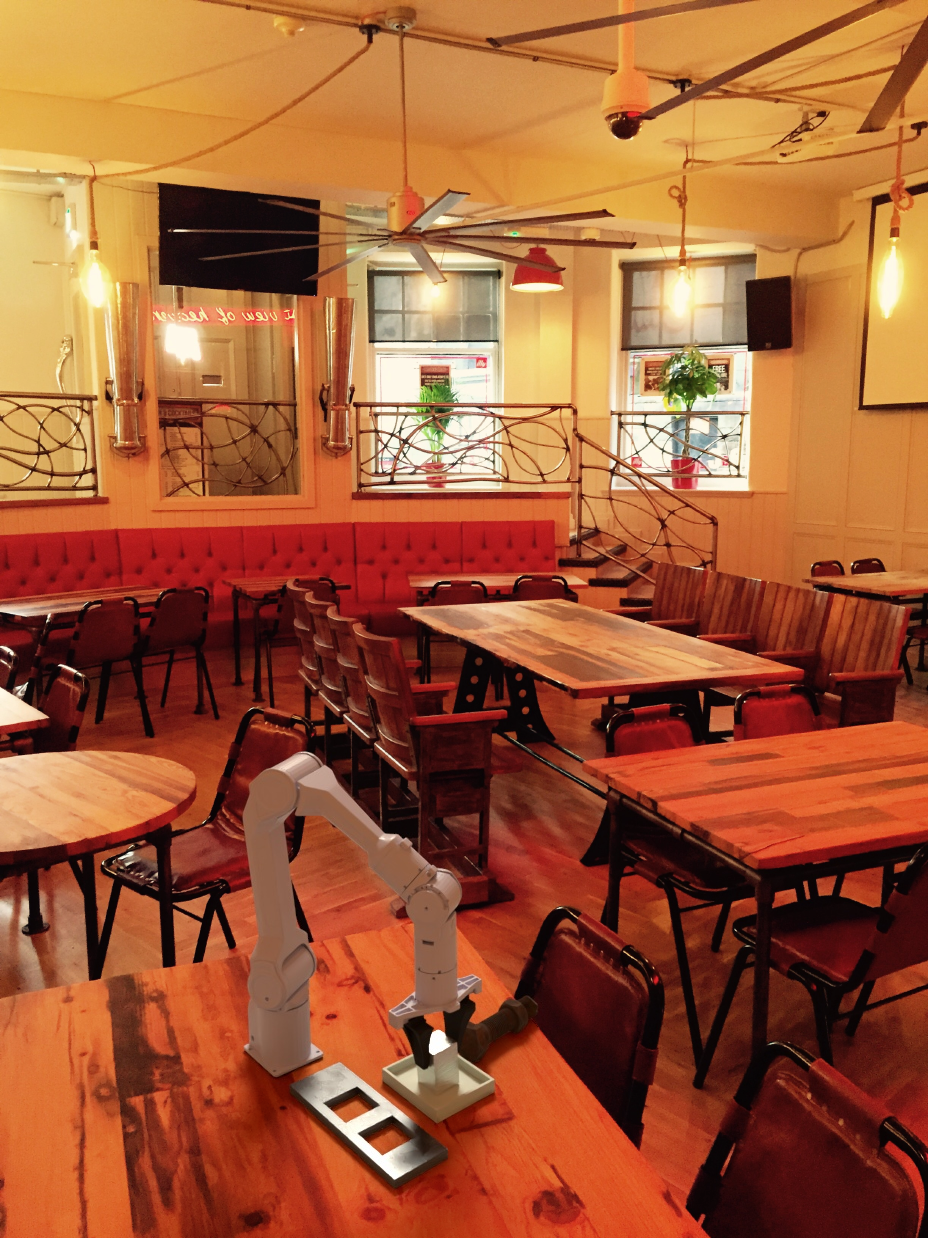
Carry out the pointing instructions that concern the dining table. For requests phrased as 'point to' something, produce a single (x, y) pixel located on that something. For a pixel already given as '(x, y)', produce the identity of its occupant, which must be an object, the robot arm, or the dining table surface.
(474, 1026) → the bolt
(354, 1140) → the metal plate with holes
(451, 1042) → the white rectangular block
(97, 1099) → the dining table surface
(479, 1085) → the tray
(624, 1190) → the dining table surface
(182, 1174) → the dining table surface
